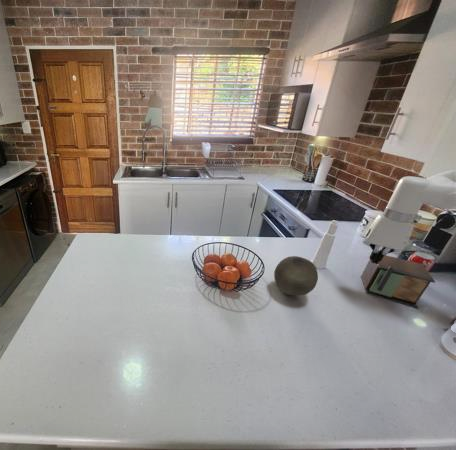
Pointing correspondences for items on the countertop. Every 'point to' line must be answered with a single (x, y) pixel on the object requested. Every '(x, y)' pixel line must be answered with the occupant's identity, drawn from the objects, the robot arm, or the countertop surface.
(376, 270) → the cupboard
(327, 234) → the cosmetic bottle
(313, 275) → the cantaloupe
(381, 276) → the sliding door
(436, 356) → the countertop surface
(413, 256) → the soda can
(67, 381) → the countertop surface
